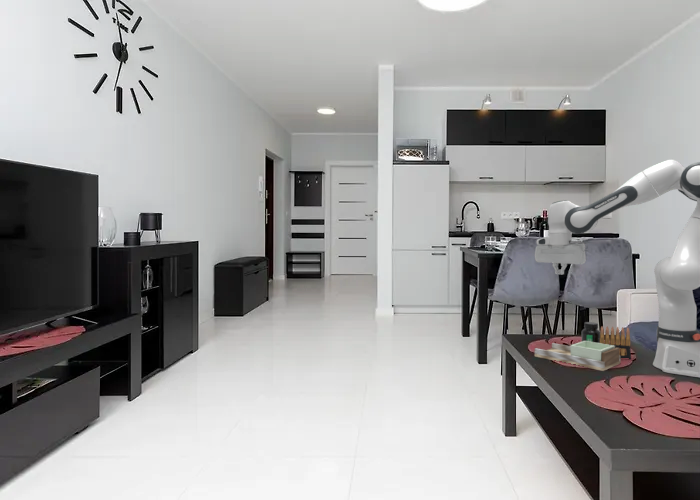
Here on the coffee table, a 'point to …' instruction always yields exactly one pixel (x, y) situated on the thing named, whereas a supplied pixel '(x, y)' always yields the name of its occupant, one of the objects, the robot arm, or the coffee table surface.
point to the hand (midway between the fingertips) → (559, 274)
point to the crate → (590, 350)
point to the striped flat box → (564, 355)
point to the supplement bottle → (591, 332)
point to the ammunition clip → (617, 341)
